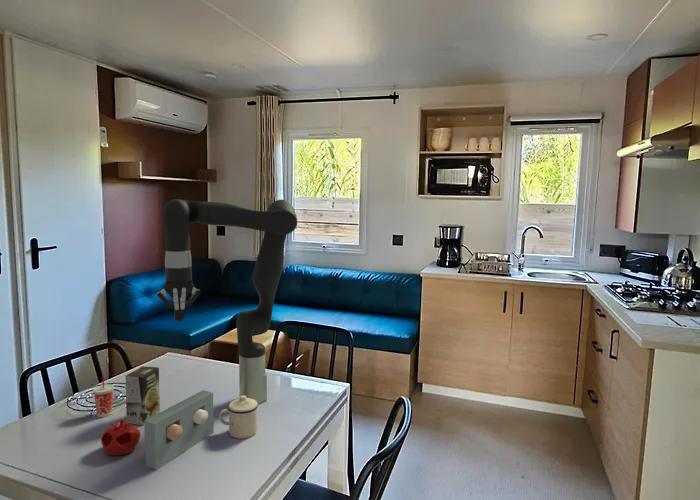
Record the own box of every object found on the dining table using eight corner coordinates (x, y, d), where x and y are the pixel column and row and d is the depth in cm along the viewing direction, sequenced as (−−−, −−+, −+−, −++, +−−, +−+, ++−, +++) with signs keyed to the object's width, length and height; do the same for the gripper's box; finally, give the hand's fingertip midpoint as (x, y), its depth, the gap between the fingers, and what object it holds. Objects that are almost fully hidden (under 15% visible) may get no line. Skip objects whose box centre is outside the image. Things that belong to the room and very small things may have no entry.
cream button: (180, 421, 135) (180, 408, 135) (190, 415, 139) (190, 403, 138) (198, 426, 132) (198, 413, 132) (207, 420, 136) (207, 408, 135)
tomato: (114, 440, 135) (112, 411, 134) (146, 441, 135) (145, 411, 134) (94, 459, 125) (92, 426, 125) (129, 459, 125) (128, 427, 124)
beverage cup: (90, 415, 150) (88, 375, 148) (107, 408, 155) (105, 369, 154) (101, 420, 147) (99, 378, 146) (118, 412, 152) (117, 372, 151)
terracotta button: (153, 437, 126) (152, 423, 126) (164, 430, 130) (164, 417, 129) (171, 443, 123) (171, 429, 123) (182, 436, 127) (182, 422, 126)
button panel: (145, 466, 123) (144, 420, 121) (203, 429, 142) (203, 390, 141) (156, 470, 121) (154, 424, 119) (213, 432, 141) (213, 392, 139)
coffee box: (143, 425, 144) (142, 377, 142) (125, 423, 145) (124, 375, 143) (161, 412, 153) (159, 367, 151) (144, 410, 154) (142, 365, 152)
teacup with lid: (260, 424, 146) (260, 390, 145) (255, 439, 137) (255, 402, 136) (223, 424, 146) (222, 390, 144) (215, 439, 137) (215, 402, 135)
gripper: (155, 268, 131) (156, 326, 133) (202, 266, 136) (203, 321, 138) (154, 264, 138) (156, 319, 140) (199, 262, 143) (200, 315, 145)
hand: (179, 320), depth 139 cm, fingers closed
